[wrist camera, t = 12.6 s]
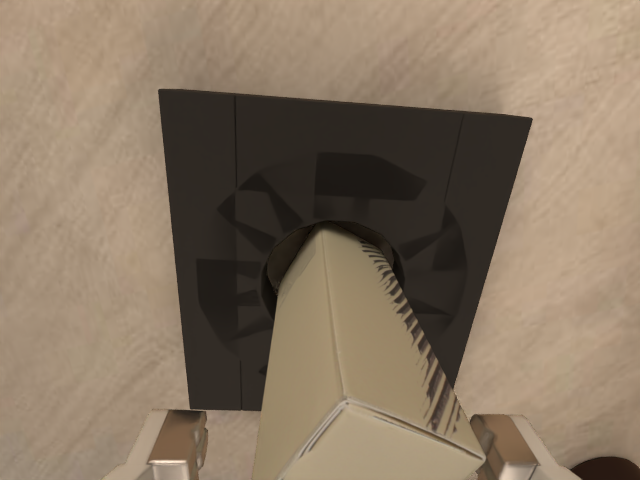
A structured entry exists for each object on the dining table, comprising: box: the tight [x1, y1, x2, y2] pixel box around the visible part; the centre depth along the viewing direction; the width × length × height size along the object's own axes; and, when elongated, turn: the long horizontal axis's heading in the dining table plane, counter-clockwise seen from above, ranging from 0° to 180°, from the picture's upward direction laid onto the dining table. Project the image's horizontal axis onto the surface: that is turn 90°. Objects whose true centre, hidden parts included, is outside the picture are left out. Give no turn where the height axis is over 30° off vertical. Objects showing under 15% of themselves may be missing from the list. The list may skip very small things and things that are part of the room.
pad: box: [158, 89, 533, 411], centre depth 19 cm, size 16×18×2 cm
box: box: [252, 220, 486, 480], centre depth 15 cm, size 5×4×13 cm
